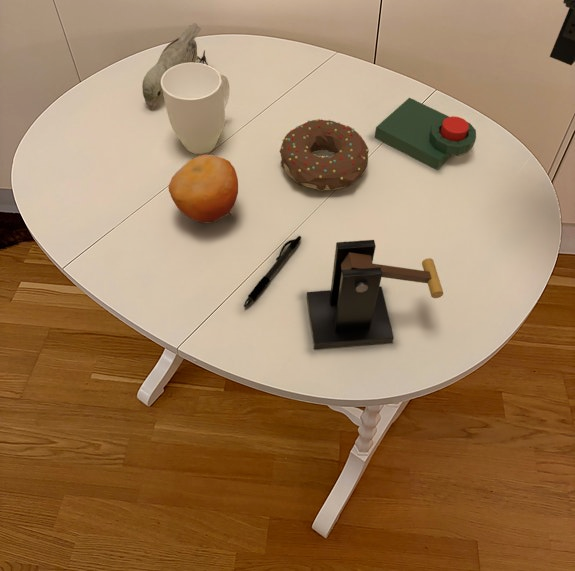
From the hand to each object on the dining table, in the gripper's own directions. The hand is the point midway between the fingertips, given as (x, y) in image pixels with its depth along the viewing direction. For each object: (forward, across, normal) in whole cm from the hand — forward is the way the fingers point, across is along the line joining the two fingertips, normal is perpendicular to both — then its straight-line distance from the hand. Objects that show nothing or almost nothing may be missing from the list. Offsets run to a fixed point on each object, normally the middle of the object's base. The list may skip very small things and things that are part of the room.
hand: (562, 58), depth 70 cm
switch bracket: (+24, +32, -6) cm, 40 cm away
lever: (+16, +29, -3) cm, 33 cm away
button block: (+24, -5, -16) cm, 29 cm away
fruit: (+25, +30, -32) cm, 50 cm away
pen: (+24, +32, -18) cm, 44 cm away
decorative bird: (+25, +11, -58) cm, 64 cm away
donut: (+25, +11, -25) cm, 37 cm away
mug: (+25, +18, -44) cm, 54 cm away
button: (+21, -5, -12) cm, 25 cm away
